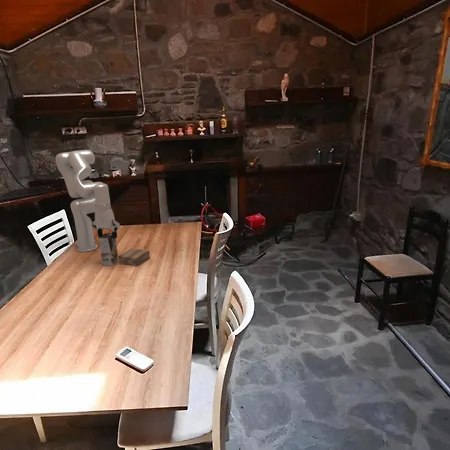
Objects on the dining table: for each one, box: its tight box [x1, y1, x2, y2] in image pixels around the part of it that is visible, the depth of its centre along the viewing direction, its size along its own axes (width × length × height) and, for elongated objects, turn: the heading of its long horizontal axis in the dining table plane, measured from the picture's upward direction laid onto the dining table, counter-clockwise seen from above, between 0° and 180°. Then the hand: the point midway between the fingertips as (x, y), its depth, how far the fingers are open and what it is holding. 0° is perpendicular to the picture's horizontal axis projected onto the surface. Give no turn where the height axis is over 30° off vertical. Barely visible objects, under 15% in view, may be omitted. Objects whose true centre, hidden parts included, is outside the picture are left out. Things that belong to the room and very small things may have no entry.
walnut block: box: [118, 248, 151, 267], centre depth 198 cm, size 12×12×5 cm
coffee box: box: [98, 232, 119, 267], centre depth 195 cm, size 9×6×16 cm
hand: (107, 237), depth 193 cm, fingers open, 9 cm apart
